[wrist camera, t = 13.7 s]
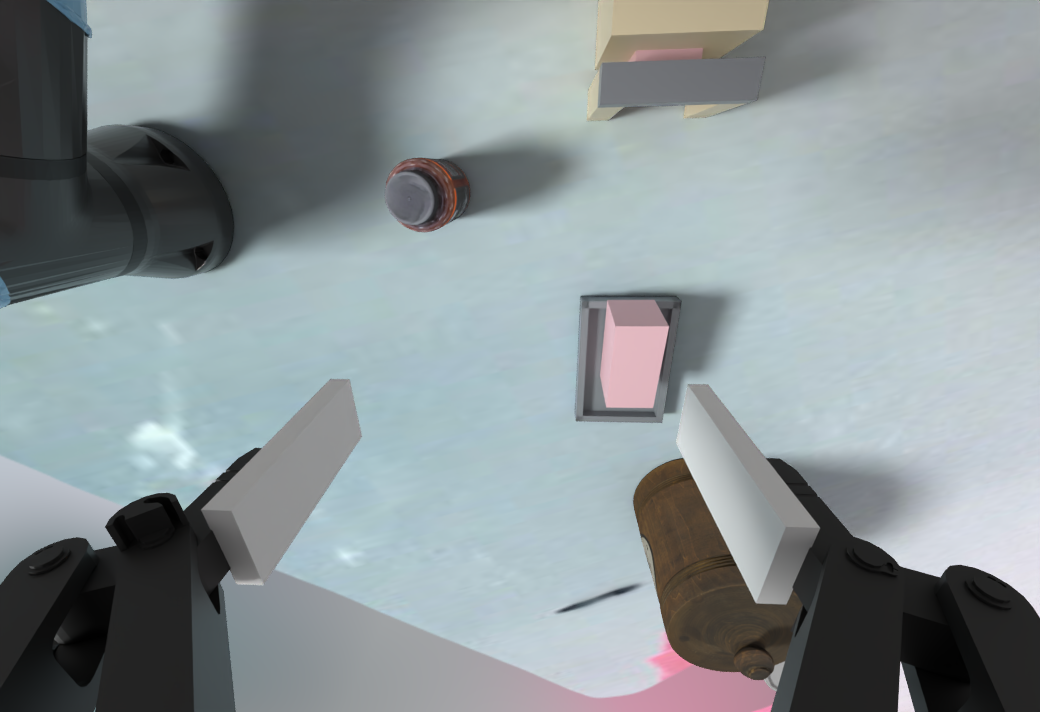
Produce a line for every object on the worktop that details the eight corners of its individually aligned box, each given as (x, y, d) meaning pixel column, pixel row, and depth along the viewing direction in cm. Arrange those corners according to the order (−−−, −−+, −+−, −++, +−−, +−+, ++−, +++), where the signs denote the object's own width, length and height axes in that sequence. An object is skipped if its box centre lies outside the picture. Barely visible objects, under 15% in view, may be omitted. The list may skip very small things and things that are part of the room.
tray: (574, 412, 51) (575, 421, 50) (580, 296, 45) (581, 301, 43) (657, 413, 51) (662, 422, 49) (675, 296, 44) (681, 301, 42)
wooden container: (612, 511, 58) (647, 687, 38) (674, 440, 52) (752, 604, 33) (695, 548, 61) (768, 732, 41) (763, 484, 55) (888, 662, 35)
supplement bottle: (414, 155, 40) (369, 150, 30) (473, 163, 40) (448, 160, 30) (414, 217, 42) (373, 232, 32) (469, 224, 42) (445, 241, 32)
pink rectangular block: (599, 375, 48) (606, 407, 43) (607, 299, 43) (615, 326, 38) (641, 375, 48) (653, 408, 43) (654, 299, 42) (669, 326, 37)
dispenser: (586, 120, 38) (599, 104, 29) (594, -48, 33) (613, -132, 24) (705, 117, 37) (757, 100, 28) (732, -55, 32) (805, -145, 23)
